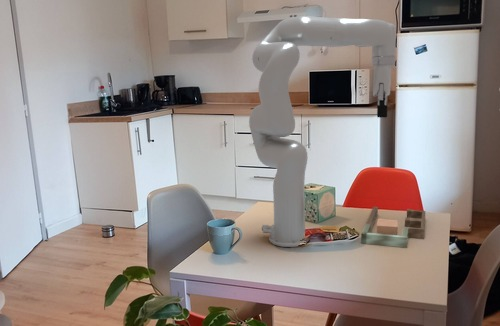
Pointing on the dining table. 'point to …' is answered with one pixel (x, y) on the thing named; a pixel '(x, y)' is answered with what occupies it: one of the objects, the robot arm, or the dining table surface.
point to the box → (411, 230)
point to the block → (387, 226)
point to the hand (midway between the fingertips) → (382, 117)
